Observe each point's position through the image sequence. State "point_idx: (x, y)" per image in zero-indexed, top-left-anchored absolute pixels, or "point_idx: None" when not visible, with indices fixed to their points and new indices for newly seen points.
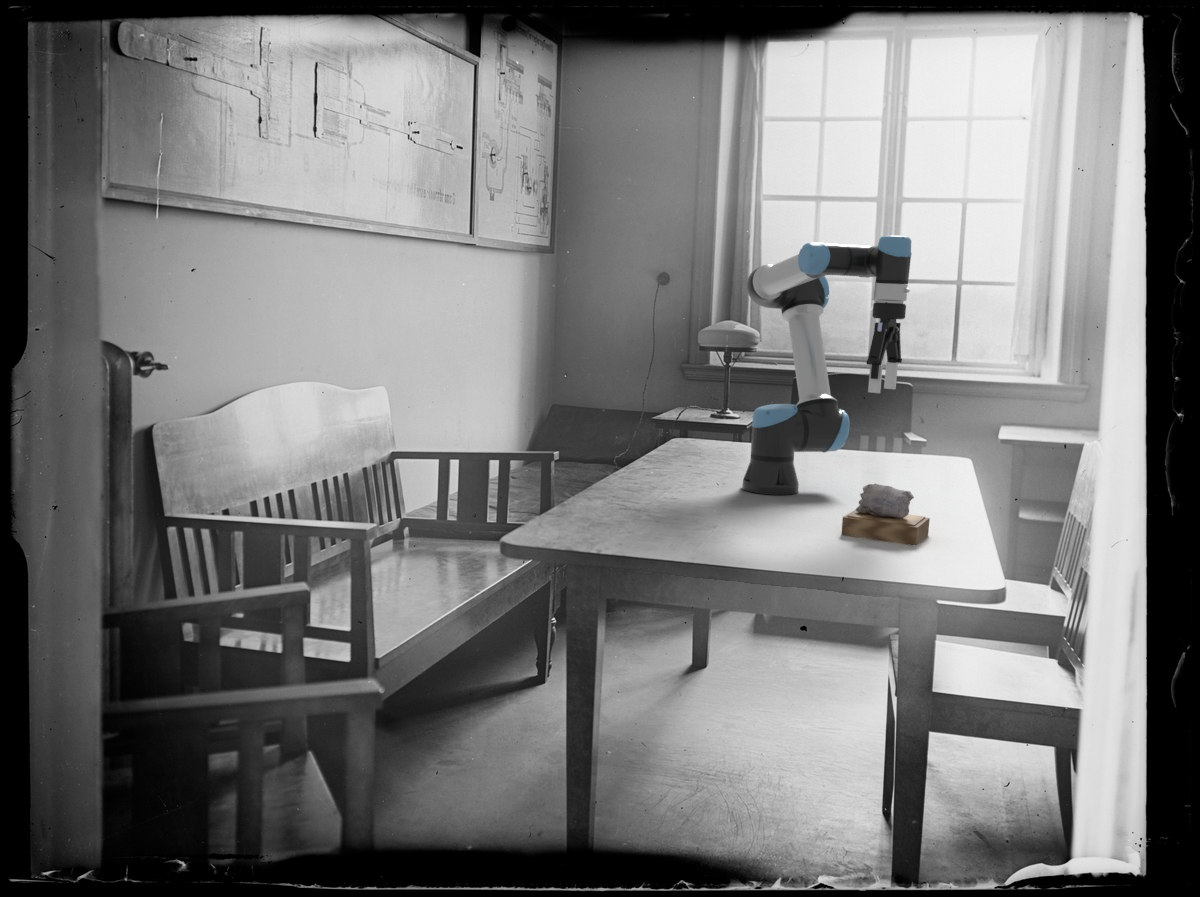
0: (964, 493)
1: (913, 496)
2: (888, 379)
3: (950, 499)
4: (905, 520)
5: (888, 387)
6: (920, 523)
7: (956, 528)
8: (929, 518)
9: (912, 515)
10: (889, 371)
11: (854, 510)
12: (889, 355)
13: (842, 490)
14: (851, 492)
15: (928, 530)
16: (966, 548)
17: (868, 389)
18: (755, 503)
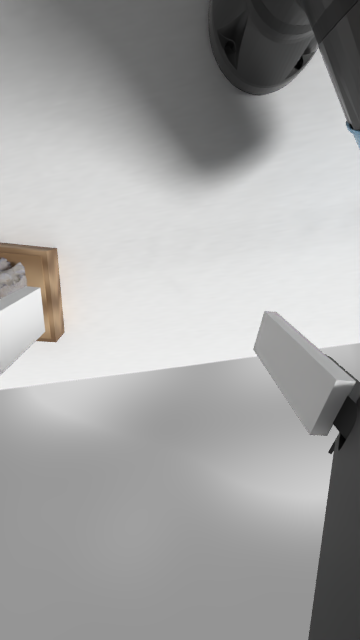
0: (354, 337)
1: None
2: (277, 343)
3: (304, 328)
4: None
5: (261, 329)
6: None
7: (126, 352)
8: (55, 341)
9: (45, 325)
10: (295, 366)
11: (25, 249)
12: (352, 438)
13: (318, 175)
14: (305, 194)
15: (61, 335)
16: (32, 370)
17: (18, 291)
18: (109, 27)
